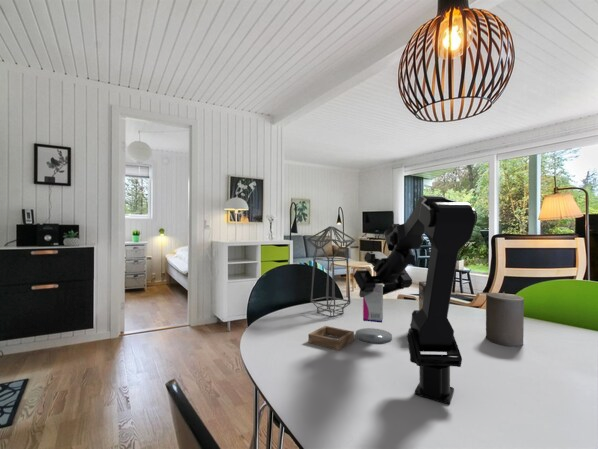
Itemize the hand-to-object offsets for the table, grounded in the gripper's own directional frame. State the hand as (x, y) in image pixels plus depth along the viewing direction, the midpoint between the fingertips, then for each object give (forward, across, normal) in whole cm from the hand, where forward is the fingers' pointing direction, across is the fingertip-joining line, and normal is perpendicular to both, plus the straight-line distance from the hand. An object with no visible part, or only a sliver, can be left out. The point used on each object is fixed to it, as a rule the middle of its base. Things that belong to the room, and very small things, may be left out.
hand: (370, 295), depth 97 cm
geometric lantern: (+29, -3, -11) cm, 31 cm away
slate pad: (+8, 0, +10) cm, 13 cm away
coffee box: (+5, -20, +13) cm, 25 cm away
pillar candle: (-5, -34, +24) cm, 42 cm away
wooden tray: (+10, +14, +8) cm, 19 cm away
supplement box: (+4, 0, +6) cm, 8 cm away
